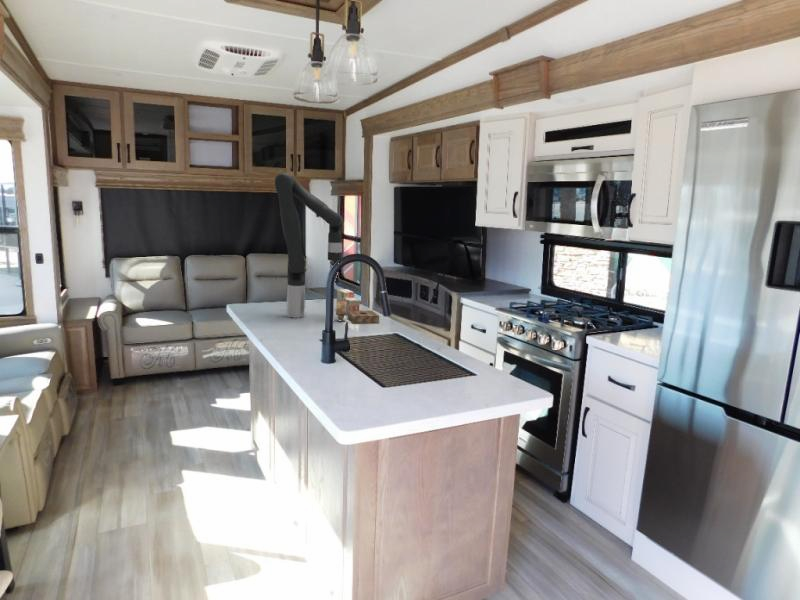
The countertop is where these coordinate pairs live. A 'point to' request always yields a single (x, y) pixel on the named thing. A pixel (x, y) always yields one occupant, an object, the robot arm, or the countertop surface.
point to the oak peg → (341, 310)
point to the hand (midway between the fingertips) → (334, 281)
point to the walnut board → (363, 317)
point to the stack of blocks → (348, 299)
